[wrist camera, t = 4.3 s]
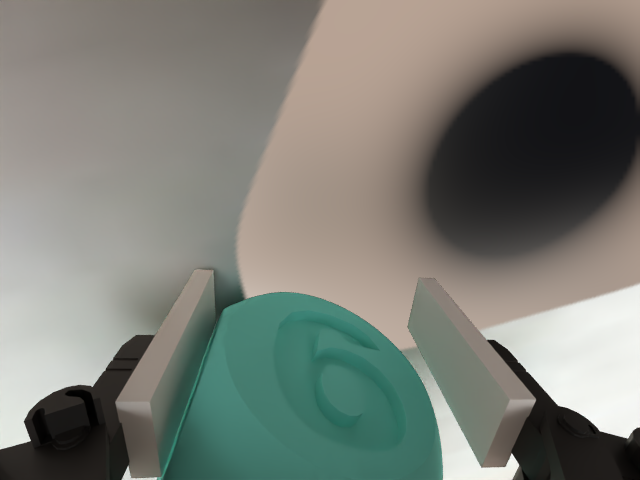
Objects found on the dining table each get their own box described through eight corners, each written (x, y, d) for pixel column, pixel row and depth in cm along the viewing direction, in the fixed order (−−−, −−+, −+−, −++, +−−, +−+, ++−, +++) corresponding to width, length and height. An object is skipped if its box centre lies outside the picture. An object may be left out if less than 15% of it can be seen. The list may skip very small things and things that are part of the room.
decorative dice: (186, 396, 16) (99, 637, 9) (239, 267, 14) (177, 453, 6) (327, 431, 18) (352, 654, 11) (397, 322, 16) (492, 517, 8)
